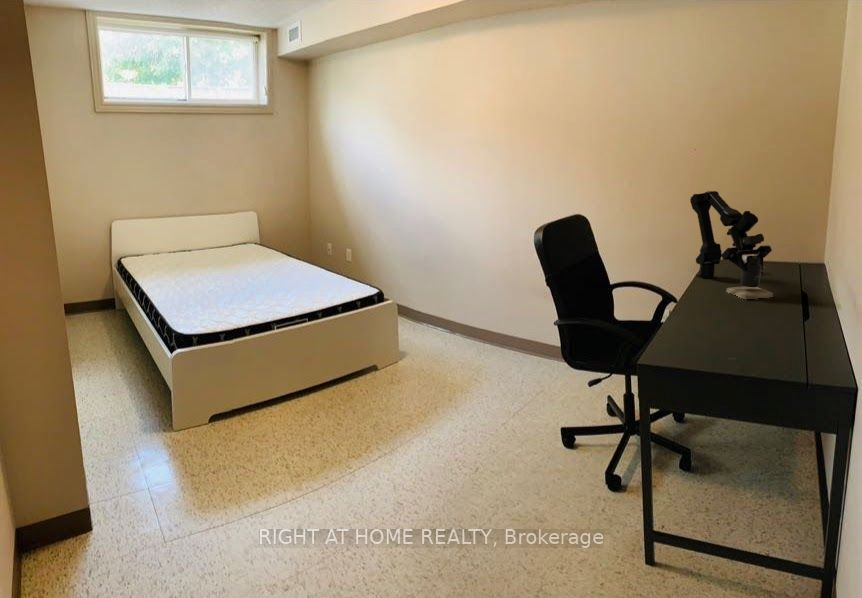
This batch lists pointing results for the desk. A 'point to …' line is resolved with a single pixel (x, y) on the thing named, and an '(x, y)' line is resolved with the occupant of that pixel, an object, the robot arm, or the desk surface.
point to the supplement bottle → (751, 272)
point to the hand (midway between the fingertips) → (753, 270)
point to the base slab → (749, 292)
